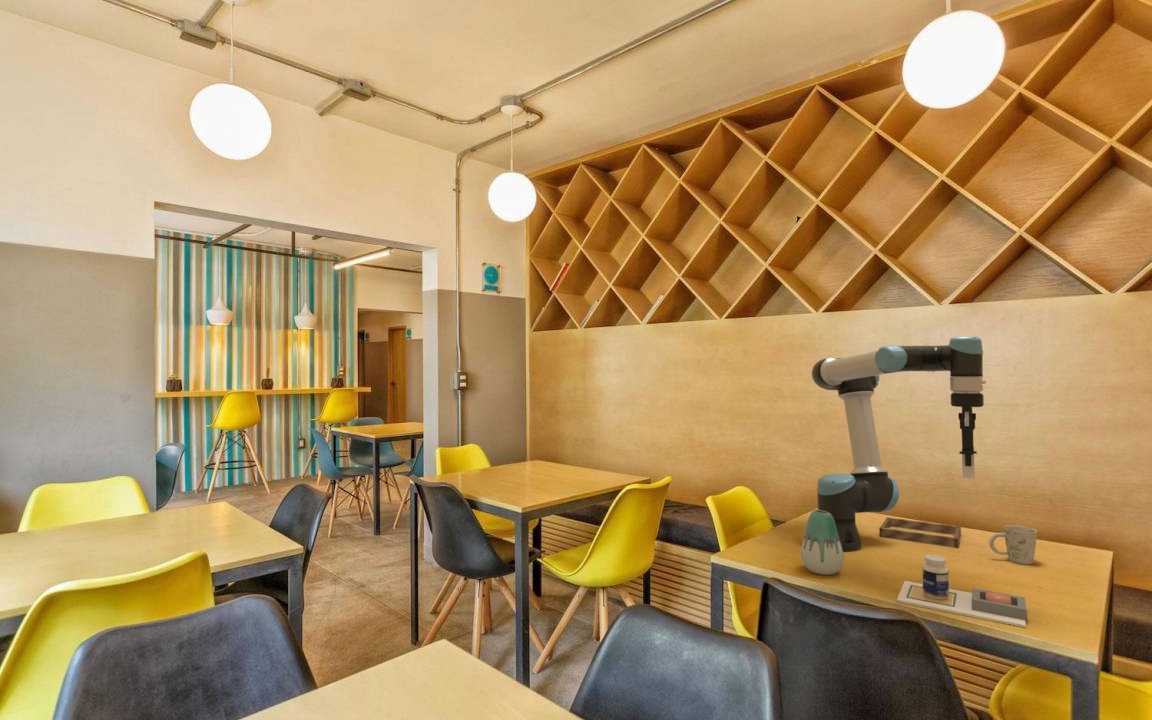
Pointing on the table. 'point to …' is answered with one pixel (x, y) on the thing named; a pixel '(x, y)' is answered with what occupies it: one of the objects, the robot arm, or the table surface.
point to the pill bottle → (935, 577)
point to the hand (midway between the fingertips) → (968, 477)
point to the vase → (821, 544)
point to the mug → (1017, 543)
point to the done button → (998, 597)
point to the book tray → (921, 537)
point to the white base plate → (968, 604)
